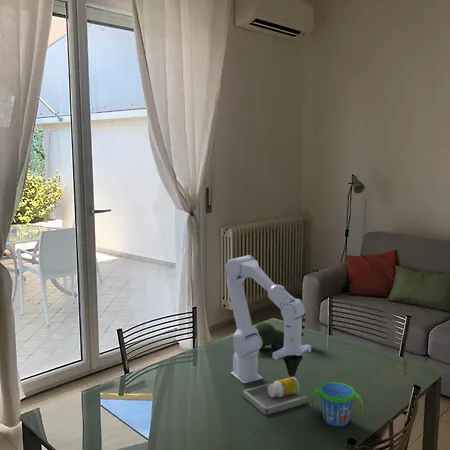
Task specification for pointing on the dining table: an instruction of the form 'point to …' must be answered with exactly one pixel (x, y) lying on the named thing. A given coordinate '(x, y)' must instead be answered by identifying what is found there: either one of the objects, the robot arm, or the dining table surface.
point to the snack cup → (336, 402)
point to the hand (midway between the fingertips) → (291, 375)
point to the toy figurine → (272, 334)
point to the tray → (270, 400)
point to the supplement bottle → (283, 387)
